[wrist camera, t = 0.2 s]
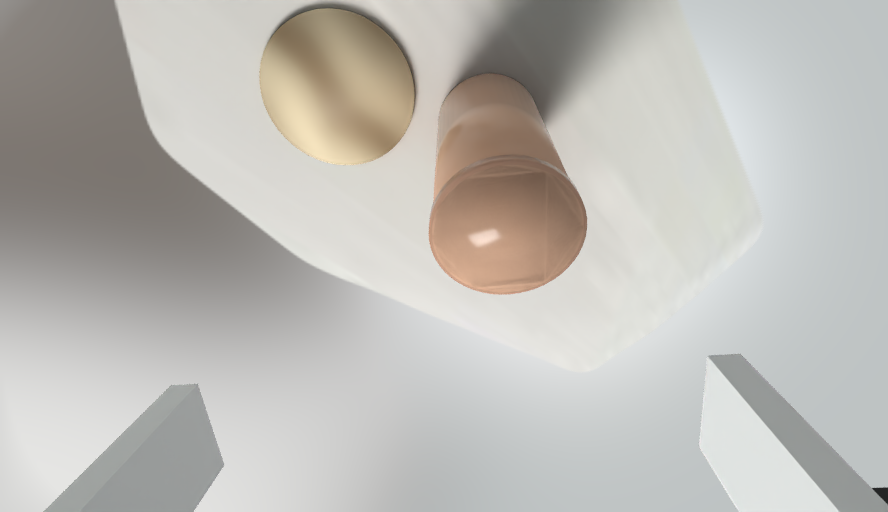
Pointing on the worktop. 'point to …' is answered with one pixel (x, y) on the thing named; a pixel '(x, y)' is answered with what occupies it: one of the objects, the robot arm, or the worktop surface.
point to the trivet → (337, 86)
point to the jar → (501, 191)
